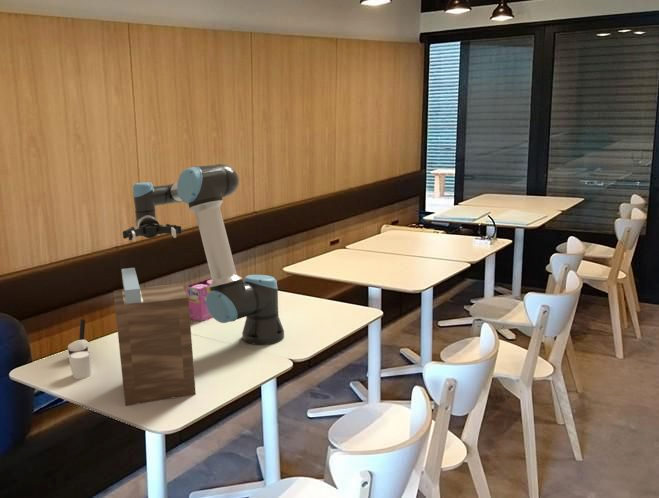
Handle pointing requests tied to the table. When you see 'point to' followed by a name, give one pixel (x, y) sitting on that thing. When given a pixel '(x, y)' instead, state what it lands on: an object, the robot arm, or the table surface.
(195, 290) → the gum box
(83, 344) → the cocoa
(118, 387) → the table surface
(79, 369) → the shot glass
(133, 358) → the shelf
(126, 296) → the rod
